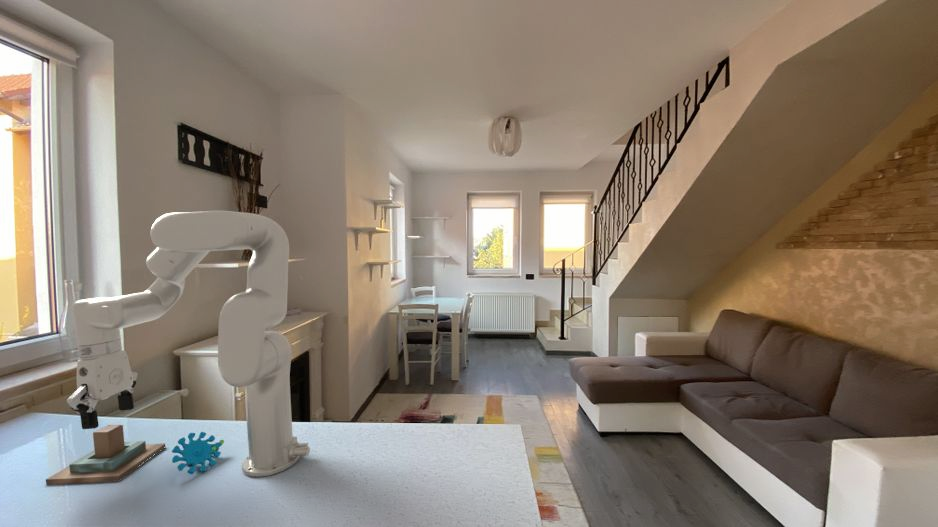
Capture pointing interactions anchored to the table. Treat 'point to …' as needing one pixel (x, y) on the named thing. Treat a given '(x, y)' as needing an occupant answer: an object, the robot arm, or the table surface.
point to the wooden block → (108, 441)
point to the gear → (197, 452)
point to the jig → (106, 465)
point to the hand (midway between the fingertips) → (109, 418)
